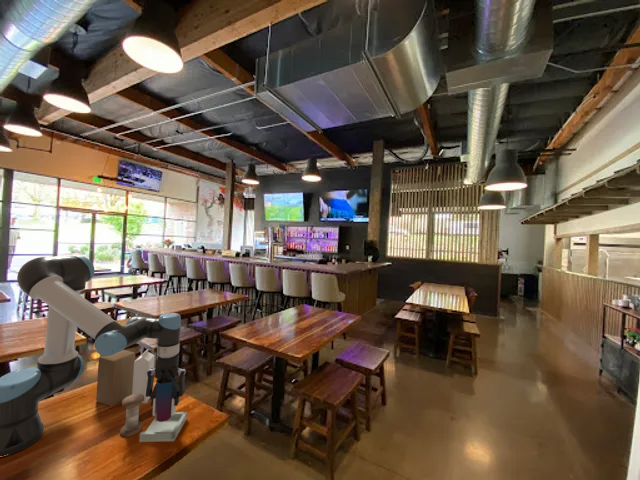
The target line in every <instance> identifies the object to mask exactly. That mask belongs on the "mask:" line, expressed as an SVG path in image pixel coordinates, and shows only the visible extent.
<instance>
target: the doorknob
mask: <svg viewBox="0 0 640 480" xmlns="http://www.w3.org/2000/svg"><path fill="white" fill-rule="evenodd" d="M143 401H144V395H143V394H133V395H130V396H127V397H126V398H124V399H123V400H122V401H121V406H122V407H123V408H126V409H125V410H126V412H125V424H124V425H123V426H122V427H121V428H120V430H119V435H120V436H121V437H123V438H129V437H133V436H134V435H136V434H137V435H138V433H141V432H142V429H143V422H142V421H140V420H139V415H140V405H141V404H143V403H142V402H143Z"/></svg>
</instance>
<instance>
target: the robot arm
mask: <svg viewBox="0 0 640 480" xmlns="http://www.w3.org/2000/svg"><path fill="white" fill-rule="evenodd" d="M16 276H17V277H16V279H17V284H18V286H19V288H20V289H21V290H22V292H24V294H26V295H27V296H29V297H30V298H31V299H32V300H39V301H42V302H43V303H44V304H46V305H47V306H48V313H47V322H46V331H45V340H44V349H43V350H44V351H43V354H42V355H41V356H40V357H38V358H37V364H36V365H37V366H36V367H31V366H30V367H25V368H20V369H19V370H17V369H16V370H13V371H10V372H8V373H6V374H4V375H2V376H1V377H0V456H4V455H7V454H12V455H14V454H17V453H18V451H19V452H21V451H23V450H25V449H27V448H29V447H30V446H32V445H33V444H35V443H36V442H37V441H39V440H40V438H42V436H43V435H44V432H45V431H44V429H45V425H44V424H45V423H44V422H43V421H41V416H40V414H39V403H40V402H41V401H43V400H44V399H46V398H48V397H50V396H51V395H53V394H55V393H57V392H59V391H61V390H62V389H65V388H67V387H69V386H71V385H72V384H73V383H75V382H77V380H79V379H80V377H81V376H82V375H83V373H84V370H85V360H84V359H83V357H82V355H80V354H79V352H78V351H77V350H76V349H75V343H76V342H75V340H76V332H77V328H78V329H80V330H81V331H83V332H84V333H85V334H86V335H88V336H89V337H91V338H92V339H93V340H95V341H94V349H95V350H96V353H97V354H99V356H110V355H113V354H115V353H117V352H120V351H122V350H126V348H128V347H130V346H132V345H135V344H136V343H138V342H140V341H142V340H144V339H155V340H157V346H156V347H157V348H156V355H157V356H156V361H155V362H156V363H155V367H154V369H153V368H151V369H150V370H149V371H148V372H147V375H148V381H147V389H146V397H148V396H149V397H150V406H151V407H152V416H154V417H155V415H156V383H155V384H154V382H155V381H154V380H155V374H156V375H157V379H156V380H157V382H158V383H160V384H161V382H162V380H163V379H169V382H172V381H174V380H175V378H176V382H175V383H174V384H173V395H174V397H173V398H172V407H171V416H173V415H174V413H175V412H177V406H178V405H179V403H180V397H182V396H184V394H185V392H186V390H185V389H186V377H185V376H186V372H187V368H185V367H184V368H183V369H182V368H180V366H179V361H180V360H179V359H180V353H179V352H180V340H181V328H182V321H181V320H182V319H181V318H182V317H181V315H180V314H179V313H176V312H166V313H163V314H161V315H160V316H159V318H157V317H150V316H149V317H148V316H143V315H142V316H133V317H130V318H129V320H127V322H126V323H125V324H124V325H122V324H120V323H119V322H117V321H116V320H114V319H113V318H112V317H110V316H109V315H108V314H106V313H105V312H104V311H102V310H101V309H99V308H98V307H97V306H96V305H94V304H93V303H91V301H89V300H88V299H86V298H85V297H84V296H82V294H81V293H82V292H83V291H85V289H86V283H87V282H89V281H90V280H92V278H93V279H94V276H95V267H94V263H93V262H92V261H90V259H89V258H88V257H86V256H83V255H78V254H77V255H75V254H68V255H67V254H66V255H56V256H55V255H54V256H40V257H36V258H33V259H30V260H28V261H27V262H25V263H24V264H23V265H22V266H21V267H20V269H19V270H18V272H17V275H16ZM80 294H81V295H80ZM177 373H178V376H179V377H178V380H177ZM20 450H21V451H20ZM16 452H17V453H16ZM13 453H14V454H13Z"/></svg>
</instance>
